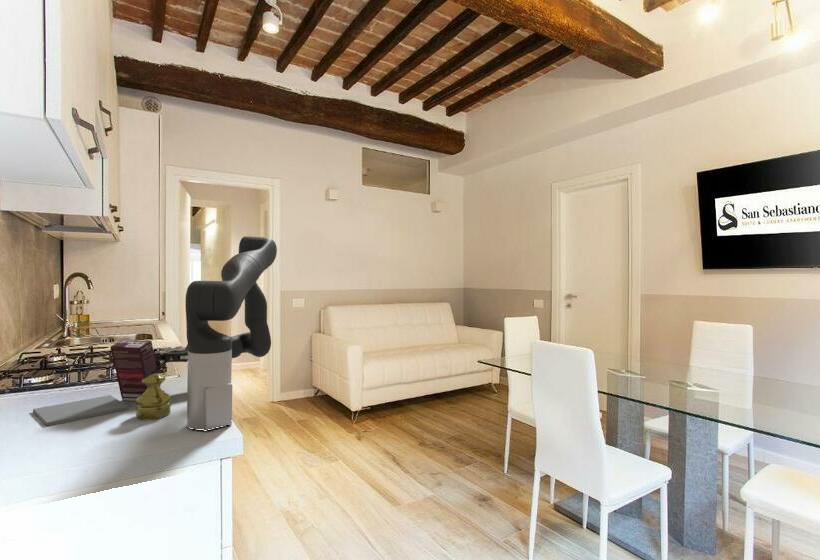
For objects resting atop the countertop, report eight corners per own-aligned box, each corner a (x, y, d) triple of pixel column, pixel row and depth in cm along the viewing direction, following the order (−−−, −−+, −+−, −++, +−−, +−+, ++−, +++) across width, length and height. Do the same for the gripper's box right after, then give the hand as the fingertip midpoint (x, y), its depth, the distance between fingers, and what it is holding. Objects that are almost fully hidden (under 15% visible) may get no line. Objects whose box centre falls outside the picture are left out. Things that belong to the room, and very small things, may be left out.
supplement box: (162, 392, 118) (152, 340, 114) (150, 402, 114) (139, 347, 109) (133, 391, 119) (122, 339, 115) (120, 400, 114) (108, 346, 110)
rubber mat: (128, 409, 108) (128, 406, 108) (46, 426, 95) (46, 422, 95) (110, 398, 116) (110, 395, 116) (33, 412, 104) (33, 408, 104)
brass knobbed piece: (177, 412, 106) (178, 372, 106) (150, 422, 99) (151, 379, 99) (156, 408, 109) (156, 369, 109) (128, 417, 102) (128, 376, 102)
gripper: (196, 335, 134) (134, 342, 120) (217, 340, 125) (153, 348, 112) (196, 359, 134) (134, 368, 120) (217, 366, 126) (152, 376, 112)
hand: (143, 358), depth 116 cm, fingers closed
